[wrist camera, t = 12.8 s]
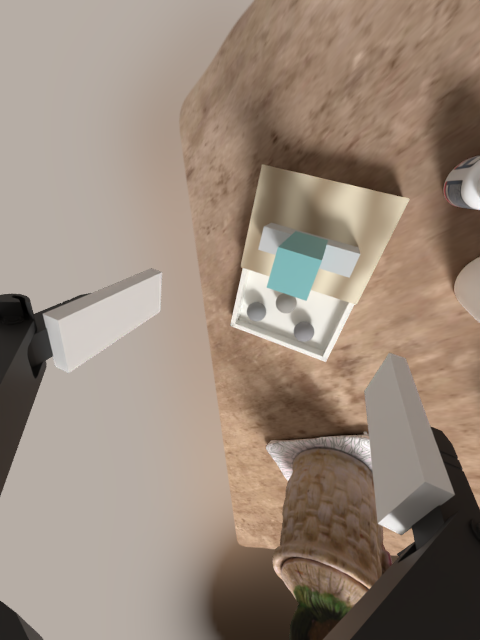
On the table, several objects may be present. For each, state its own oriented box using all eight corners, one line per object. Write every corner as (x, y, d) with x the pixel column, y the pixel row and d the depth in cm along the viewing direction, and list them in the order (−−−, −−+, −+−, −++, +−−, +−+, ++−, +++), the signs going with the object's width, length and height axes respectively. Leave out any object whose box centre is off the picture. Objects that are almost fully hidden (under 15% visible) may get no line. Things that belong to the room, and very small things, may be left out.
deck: (402, 197, 32) (409, 198, 29) (355, 294, 40) (356, 304, 36) (269, 166, 36) (262, 164, 33) (248, 260, 43) (240, 267, 40)
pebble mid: (299, 292, 42) (297, 295, 39) (296, 312, 43) (293, 317, 40) (279, 290, 43) (275, 292, 40) (276, 309, 44) (272, 313, 41)
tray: (355, 294, 40) (356, 301, 38) (326, 353, 46) (325, 361, 44) (248, 260, 43) (243, 264, 41) (235, 319, 49) (230, 325, 47)
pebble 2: (312, 337, 40) (308, 348, 43) (319, 322, 42) (314, 333, 45) (292, 329, 41) (289, 340, 44) (299, 314, 43) (296, 326, 46)
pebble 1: (257, 311, 41) (259, 327, 43) (269, 301, 43) (270, 317, 45) (241, 305, 43) (243, 321, 45) (253, 296, 45) (255, 311, 47)
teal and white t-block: (360, 243, 33) (369, 274, 21) (347, 272, 35) (349, 315, 23) (272, 218, 35) (236, 234, 23) (265, 247, 37) (228, 274, 25)
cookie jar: (263, 438, 62) (202, 629, 35) (371, 427, 50) (404, 707, 23) (306, 506, 68) (281, 713, 41) (411, 511, 56) (474, 810, 29)
